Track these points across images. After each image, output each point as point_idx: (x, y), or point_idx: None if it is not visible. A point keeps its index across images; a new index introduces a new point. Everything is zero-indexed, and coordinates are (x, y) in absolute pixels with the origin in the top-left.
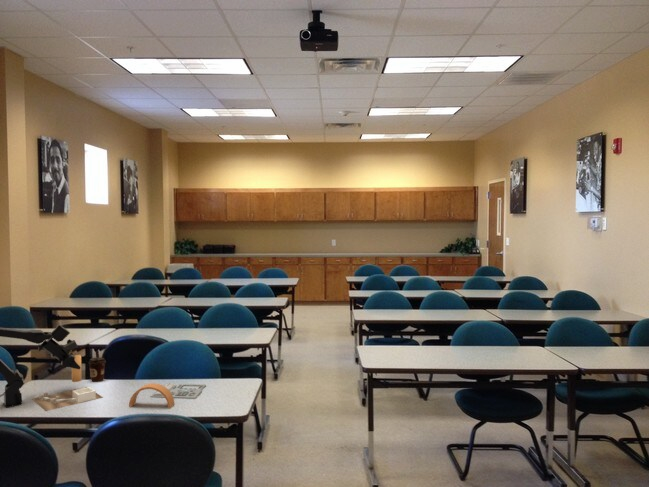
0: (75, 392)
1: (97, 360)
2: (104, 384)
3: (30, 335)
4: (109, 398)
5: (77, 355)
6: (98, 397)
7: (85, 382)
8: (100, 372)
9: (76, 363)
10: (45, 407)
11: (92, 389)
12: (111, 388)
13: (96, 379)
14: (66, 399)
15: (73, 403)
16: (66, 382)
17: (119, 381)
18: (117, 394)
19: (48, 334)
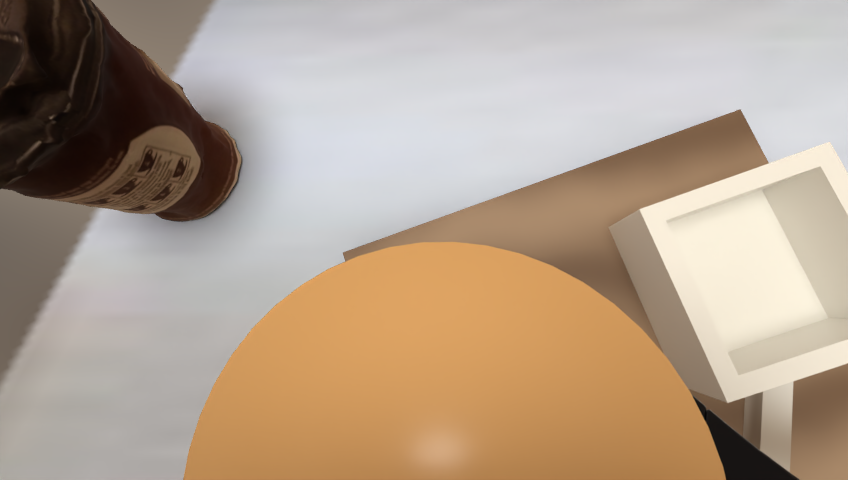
0: (820, 365)
1: (29, 27)
2: (286, 116)
3: None
4: (715, 70)
5: (293, 436)
6: (726, 149)
7: (147, 270)
8: (177, 96)
9: (717, 422)
10: None
11: (756, 175)
12: (429, 60)
13: (208, 166)
14: (785, 452)
15: (844, 375)
16: (57, 437)
17: (261, 4)
18: (623, 11)
19: None
